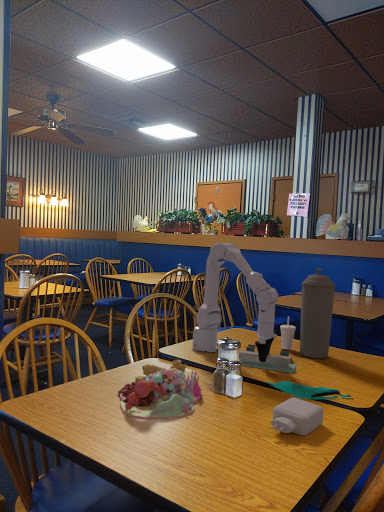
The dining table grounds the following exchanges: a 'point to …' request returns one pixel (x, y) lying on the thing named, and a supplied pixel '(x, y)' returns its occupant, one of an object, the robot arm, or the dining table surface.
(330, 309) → the canister
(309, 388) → the cloth
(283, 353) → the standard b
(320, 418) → the charger
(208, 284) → the robot arm
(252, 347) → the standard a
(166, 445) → the dining table surface
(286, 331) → the smoothie
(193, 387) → the coral reef model
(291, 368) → the mat
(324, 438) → the dining table surface
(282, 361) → the rail
